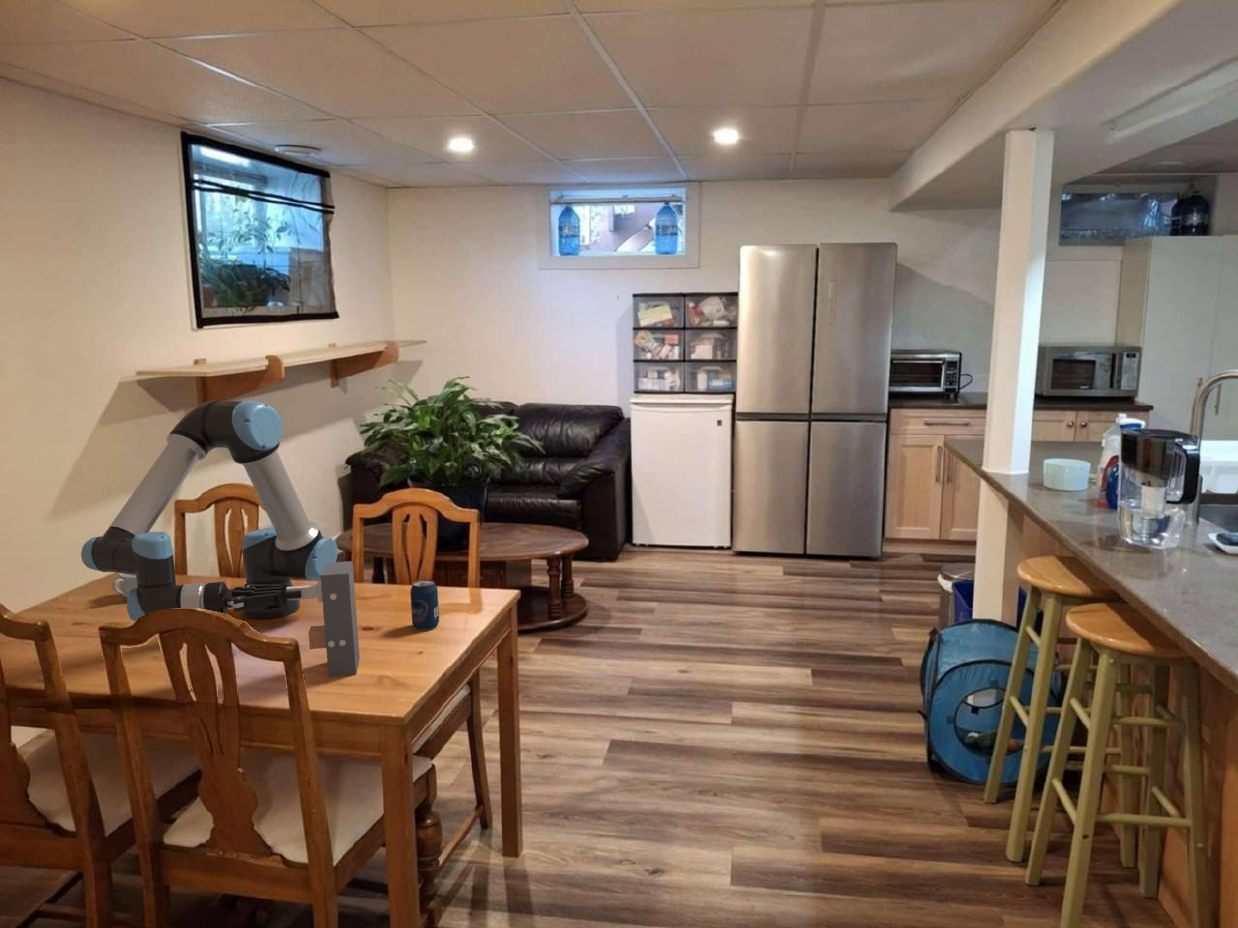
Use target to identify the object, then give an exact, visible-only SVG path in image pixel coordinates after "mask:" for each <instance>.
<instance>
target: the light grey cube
mask: <svg viewBox="0 0 1238 928" xmlns="http://www.w3.org/2000/svg"><path fill="white" fill-rule="evenodd" d="M316 585H317V595H318V598H317V602H318V603H321V602H322V603H323V600H322V588H321V580H317V583H316Z"/></svg>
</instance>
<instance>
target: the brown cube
mask: <svg viewBox="0 0 1238 928" xmlns="http://www.w3.org/2000/svg"><path fill="white" fill-rule="evenodd" d="M307 634H308V645H309V650H315V649H317V650H318V649H326V638H325V625H324V624H322V625H311V626H310V627H309V630H308V633H307Z"/></svg>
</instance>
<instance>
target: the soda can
mask: <svg viewBox="0 0 1238 928" xmlns="http://www.w3.org/2000/svg"><path fill="white" fill-rule="evenodd" d="M409 592H410V607H411V611H410V612H411V622H412V623H411V624H412V625H413V627H414V628H415V630H417V631H422V632H423V631H425V630H426V631H431V630H434V629H436V628H437V627H438V625H439V623H440V609H439V608H440V607H439V594H438V593H439V592H438V587H437V584H436V582H435V580H433V579H418V580H415V581H413V582H412V586H411V588H410V591H409Z"/></svg>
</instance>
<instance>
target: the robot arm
mask: <svg viewBox="0 0 1238 928" xmlns="http://www.w3.org/2000/svg"><path fill="white" fill-rule="evenodd" d="M282 429H283V423H282V419H281V417H280V415H279V414H278V412H277V410H276V409H275V408H273V407H272V406H271V405H269V404H268V403H264V402H261V401H255V400H243V401H241V400H220V399H214V400H209V401H206V402H204V403H201V404H199V405H197V406H195V407H194V408H193V409H192V410H190V411H189V412H188V413H186V415H184V417H182V418H181V419H180V420H179V422H177V424H176V425H175V426H174V427H173V428H172V430H171V431H170V433H168V435H167V437H166V442H167V445H166V446H165V447H164V449H163V450H162V451H161V453H160V454H159V456H158V457H157V459H156V461H154V463H153V464H152V465H151V467H150V469H149V470H148V471H147V473H146V474H145V476H144V477H143V478H142V480H141V481H140V482H139V484H138V485H137V487H136V489H134V491H133V493H132V494H131V495H130V497H129V498H128V500H127V501H126V502H125V504H124V505H123V507H122V508H121V509H120V511H119V512H118V514H116V517H114V519H113V521H112V522H111V524H110V525H109V526H108V529H107V530H105V532H104V534H103V535H102V536H101V535H100V536H95V537H92V538H90V539H88V540H86V542H85V543H84V544H83V545H82V548H81V551H80V557H81V561H82V563H83V565H85V566H86V568H88V569H90V570H93V571H96V572H97V571H99V572H102V573H118V574H119V573H123V574H131V575H136V579H137V588H134V589H131V590H130V592H129V593H128V597H126V610H127V611H126V612H127V615H128V617H129V619H130V620H131V621H133V622H136V619H138V618H139V617H141V616H144V615H147V614H149V613H151V612H154V611H158V610H163V609H170V608H201V609H207V610H212V611H217V612H221V613H224V614H225V615H226V614H227V613H228V609H231V608H233V611H234V612H240V611H241V615H242V616H243V617H245V618H246V619H247V618H248V619H255V620H263V619H265V620H266V619H274V618H279V617H284V616H286V615H291V614H293V613H295V612H296V611H298V610H300V607H301V602H300V600H308V599H309V600H310V599H318V595H317V584H311V585H298V586H297V585H296V586H294V584H293V581H292V579H293V578H294V579H300V580H308V581H314V580H315V581H319V580H321V573H322V571H323V569H324V566H325V564H326V563H335V562H337V559H338V545H337V543H336V541H335V540H334V539H333V538H331V537H329V536H323V535H322V532H321V530H320V528H319V526H318V524H316V523H315V522H312V521H310V520H309V518H308V516H307V514H306V512H305V509H304V507H303V506H302V503H301V500H300V498H299V496H298V495H297V492H296V490H295V488H294V485H293V484H292V481H291V478H290V477H289V474H288V472H287V471H286V470H287V469H286V467H285V466H284V464H283V461H282V459H281V457H280V455H279V452H278V450H279V448H280V446H281V439H282V436H283V432H282ZM217 448H219V449H220V448H222V449H227V451H228V452H229V455H231V458H232V459H233V462H234V463H236V464H238V465H242V466H243V467H244V470H245V472H246V474H247V476H248V478H249V480H250V482H251V485H253V488H254V491H255V493H256V494H257V496H258V498H259V500H260V502H261V504H262V506H263V508H264V510H265V512H266V514H267V516H268V518H269V521H270V522H271V527H270V526H269V527H266V528H260V529H255V530H253V531H250V532H247V533H245V534H244V535H243V537H242V539H241V540H242V548H241V550H242V557H243V566H244V567H243V568H244V574H245V584H244V585H243V586H235V587H234V588H230V589H229V588H228V587H227V583H225V582H224V581H215V582H213V581H212V582H207V583H206V584H205V583H204V582H200V583H198V582H197V583H196V582H195V583H188V584H187V583H186V584H177V581H176V572H175V571H176V569H175V559H174V549H173V544H172V539H171V535H170V534H169V533H167V532H165V531H151V529H152V528H153V526H154V525H155V523H156V522H157V520H158V519H159V517H160V516H161V514H162V513H163V512H164V510H165V509H166V507H167V506H168V504H169V503H170V501H171V500H172V498H173V497H174V496H175V494H176V493H177V491H178V490H179V488H180V487H181V485H182V484H183V482H184V481H185V480H186V478H187V476H188V475H189V473H190V472H191V470H192V469H193V468H194V466H195V464H196V463H197V461H201V460H202V461H203V460H204V459H205V458H206V456H207V455H208V454H209V452H211V451H212V450H213V449H217Z"/></svg>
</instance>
